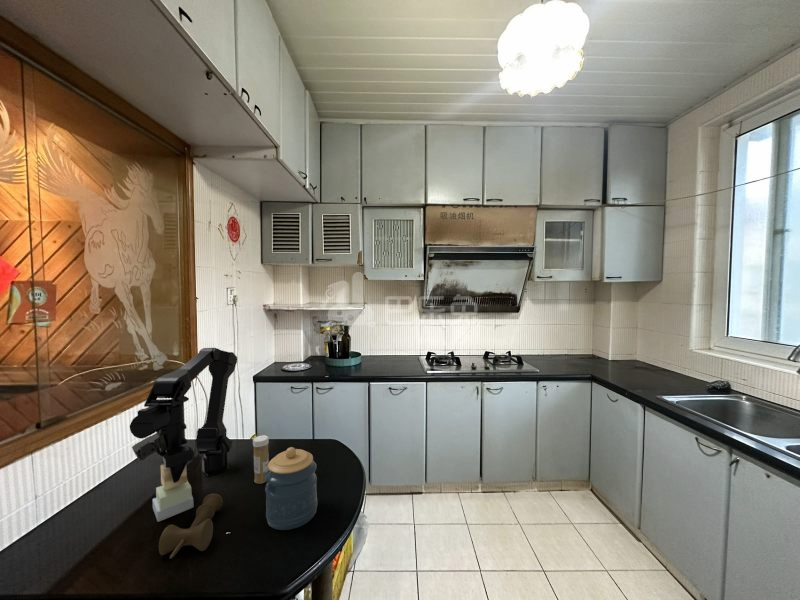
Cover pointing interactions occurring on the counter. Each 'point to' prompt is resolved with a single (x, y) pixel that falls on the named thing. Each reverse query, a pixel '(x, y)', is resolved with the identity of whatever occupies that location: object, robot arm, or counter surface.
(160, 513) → the base block
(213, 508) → the kendama
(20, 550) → the counter surface
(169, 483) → the maple cube
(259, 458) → the sprinkles bottle
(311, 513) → the canister
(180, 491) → the sage block
